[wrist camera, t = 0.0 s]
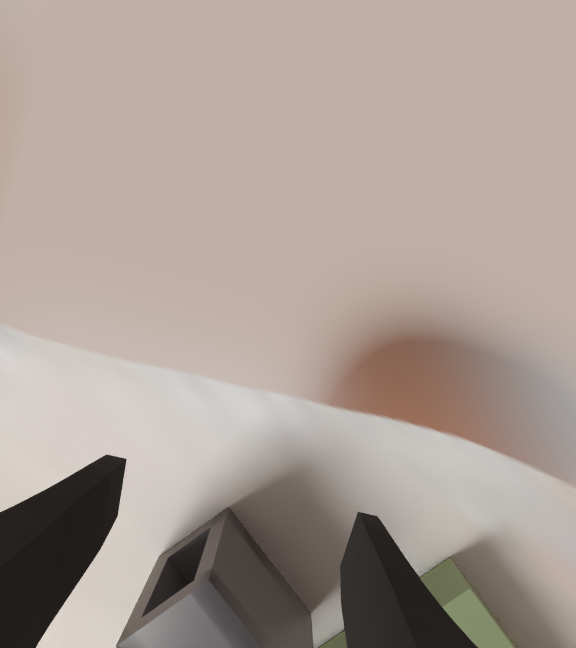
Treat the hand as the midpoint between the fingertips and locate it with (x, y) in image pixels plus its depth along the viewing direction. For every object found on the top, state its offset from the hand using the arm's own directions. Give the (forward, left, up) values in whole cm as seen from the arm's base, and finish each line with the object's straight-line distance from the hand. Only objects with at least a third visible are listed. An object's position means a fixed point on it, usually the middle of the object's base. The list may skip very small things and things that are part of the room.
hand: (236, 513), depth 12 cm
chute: (-7, -7, -11) cm, 15 cm away
